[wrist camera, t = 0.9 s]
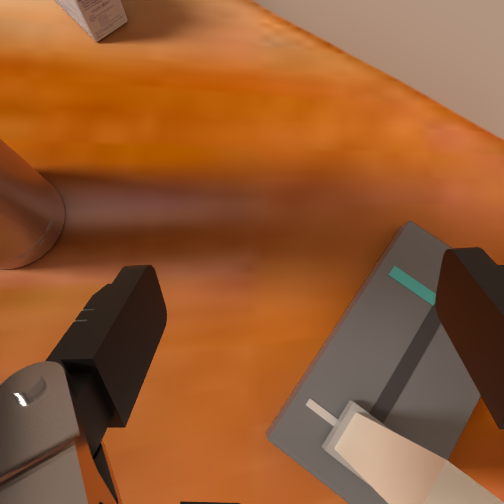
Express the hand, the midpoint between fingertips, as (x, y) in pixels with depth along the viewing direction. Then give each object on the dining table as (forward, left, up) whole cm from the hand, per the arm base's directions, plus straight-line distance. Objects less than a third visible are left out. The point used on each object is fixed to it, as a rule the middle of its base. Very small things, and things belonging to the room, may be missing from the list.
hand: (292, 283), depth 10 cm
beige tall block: (+12, -2, -20) cm, 23 cm away
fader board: (+12, +5, -22) cm, 25 cm away
